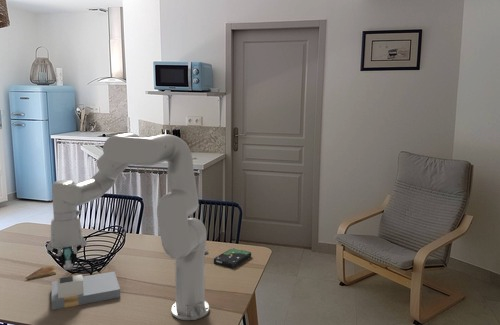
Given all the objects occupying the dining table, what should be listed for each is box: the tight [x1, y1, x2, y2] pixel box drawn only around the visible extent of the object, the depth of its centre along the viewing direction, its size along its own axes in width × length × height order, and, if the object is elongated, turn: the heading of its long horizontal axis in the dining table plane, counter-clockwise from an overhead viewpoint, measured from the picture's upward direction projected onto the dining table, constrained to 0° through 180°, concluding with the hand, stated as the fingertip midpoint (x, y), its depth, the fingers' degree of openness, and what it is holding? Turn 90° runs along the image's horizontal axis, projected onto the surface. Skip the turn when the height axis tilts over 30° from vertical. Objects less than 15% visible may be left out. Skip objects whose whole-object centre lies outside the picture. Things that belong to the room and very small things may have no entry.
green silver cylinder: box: [62, 246, 74, 271], centre depth 148 cm, size 3×3×8 cm
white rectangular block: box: [56, 274, 84, 298], centre depth 142 cm, size 5×8×5 cm, turn 115°
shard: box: [25, 265, 57, 280], centre depth 164 cm, size 11×8×2 cm
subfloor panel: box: [50, 271, 121, 311], centre depth 148 cm, size 16×22×3 cm
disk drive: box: [213, 247, 252, 269], centre depth 180 cm, size 10×3×15 cm
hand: (68, 263), depth 148 cm, fingers closed on green silver cylinder, 3 cm apart
